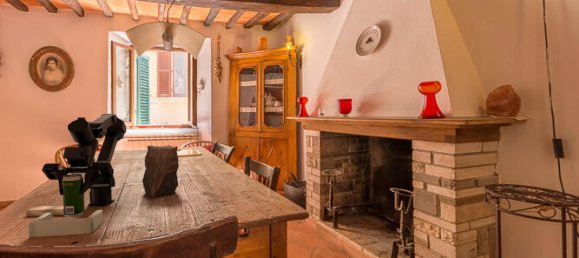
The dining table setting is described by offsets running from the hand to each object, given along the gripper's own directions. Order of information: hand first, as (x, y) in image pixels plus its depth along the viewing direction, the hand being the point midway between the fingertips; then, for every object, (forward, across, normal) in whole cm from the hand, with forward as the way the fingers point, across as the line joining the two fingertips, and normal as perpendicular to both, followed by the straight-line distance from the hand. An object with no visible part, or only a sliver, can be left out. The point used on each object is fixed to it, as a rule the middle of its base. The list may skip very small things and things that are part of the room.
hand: (71, 194), depth 98 cm
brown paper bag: (-17, +18, +31) cm, 39 cm away
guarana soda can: (+4, 0, +6) cm, 7 cm away
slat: (-3, -11, +17) cm, 21 cm away
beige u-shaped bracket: (+8, 0, +6) cm, 10 cm away
